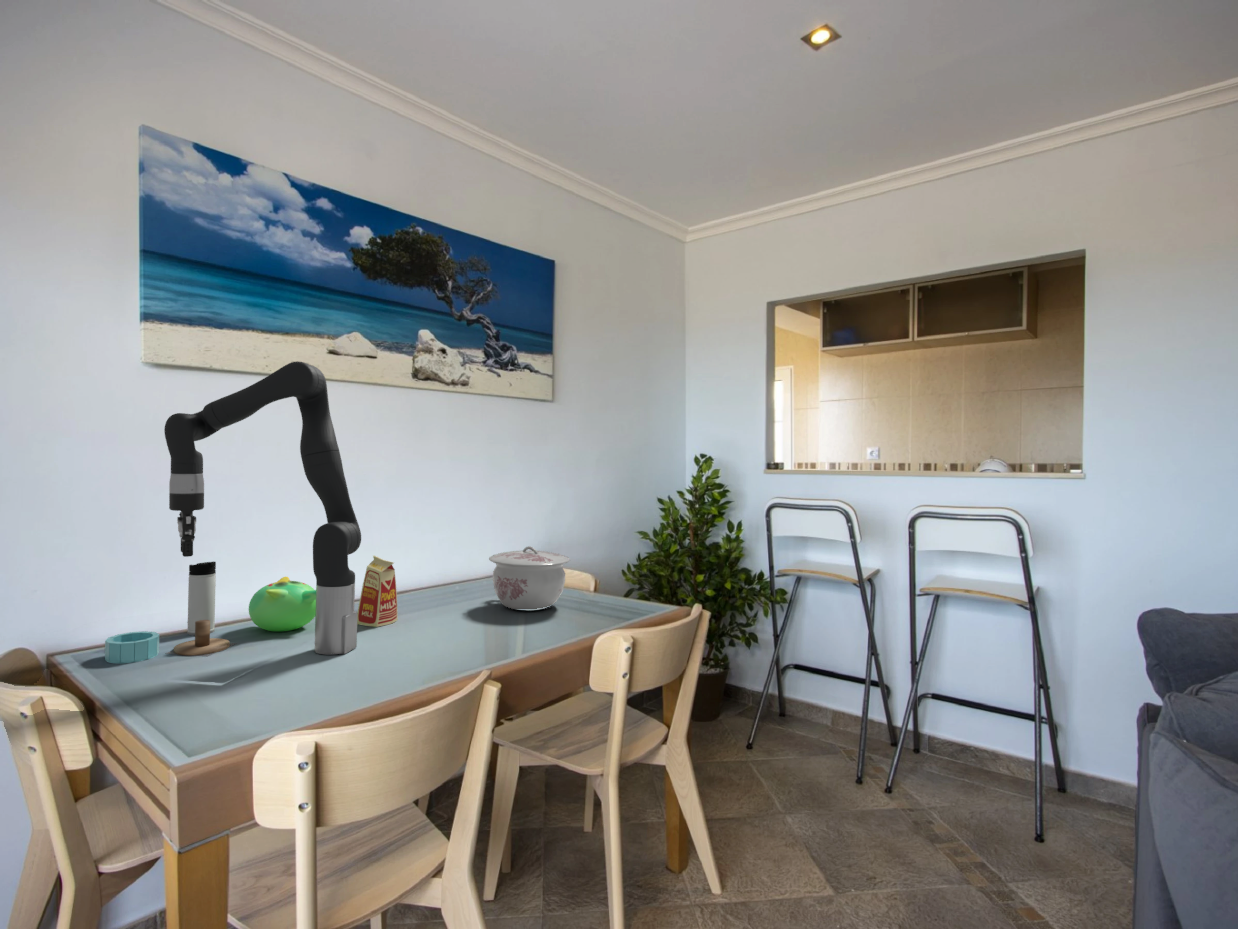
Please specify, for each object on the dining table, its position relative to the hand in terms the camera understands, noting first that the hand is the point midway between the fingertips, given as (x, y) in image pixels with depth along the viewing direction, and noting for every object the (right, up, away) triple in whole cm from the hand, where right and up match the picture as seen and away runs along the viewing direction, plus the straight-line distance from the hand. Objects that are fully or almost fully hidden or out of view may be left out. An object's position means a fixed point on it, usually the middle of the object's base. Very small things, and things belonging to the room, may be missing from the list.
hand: (186, 554), depth 171 cm
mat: (+6, -24, -4) cm, 25 cm away
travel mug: (-3, -24, +10) cm, 26 cm away
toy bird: (+17, -24, +17) cm, 34 cm away
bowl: (-6, -24, -12) cm, 27 cm away
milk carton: (+39, -25, +29) cm, 54 cm away
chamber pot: (+81, -26, +55) cm, 101 cm away
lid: (+6, -23, -4) cm, 24 cm away
